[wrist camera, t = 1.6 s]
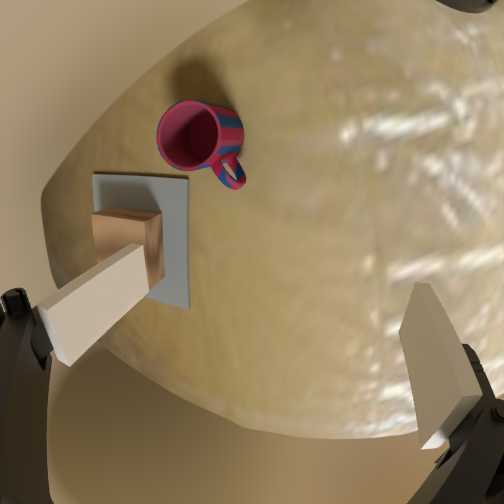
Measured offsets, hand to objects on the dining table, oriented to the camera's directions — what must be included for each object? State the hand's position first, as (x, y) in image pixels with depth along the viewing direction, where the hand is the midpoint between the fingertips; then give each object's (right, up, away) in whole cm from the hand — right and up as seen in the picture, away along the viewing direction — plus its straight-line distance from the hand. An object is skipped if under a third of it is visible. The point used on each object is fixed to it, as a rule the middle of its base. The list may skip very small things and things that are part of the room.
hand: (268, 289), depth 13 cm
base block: (-17, +3, +24) cm, 30 cm away
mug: (-4, +13, +17) cm, 22 cm away
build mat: (-17, +3, +25) cm, 30 cm away
